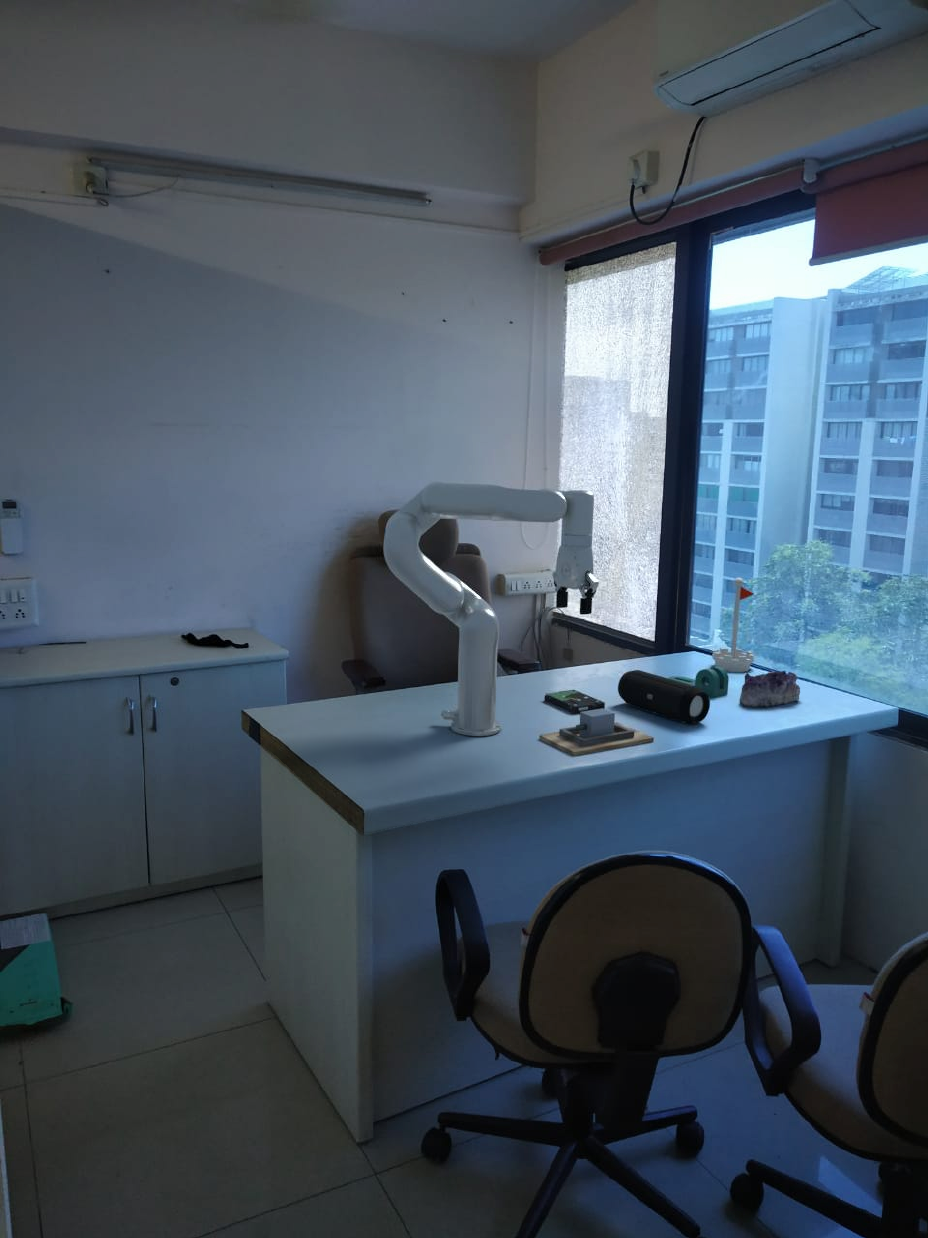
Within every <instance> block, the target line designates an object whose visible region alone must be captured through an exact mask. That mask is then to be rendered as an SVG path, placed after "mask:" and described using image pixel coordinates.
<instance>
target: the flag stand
mask: <svg viewBox="0 0 928 1238" xmlns="http://www.w3.org/2000/svg"><path fill="white" fill-rule="evenodd" d="M733 584H734V585H735V596H734V605H733V606H734V609H733V619H732V620H733V623H732V633H731V644H730V645H731V646H730V651H729V648H728V647H723V648H722V647H720V648H719V649H716V648H715V649H713V650H712V657H711V658H712V660H714V667H716V666H719V667H722V668H724V669H725V670H726V672H727V673H728V672H729V673H746V672H745V671H747V672H749V671H750V670H749V669H751V664H752V663H753V662H754V661H755V660H754V659H755V653H754V652H753V651H750V650H746V652H745V653H744V652H743V649H742V648H737V641H738V631H739V630H738V629H739V616H740V615H739V613H740V604H741V601H742V600H744V599H746V598H750V596H753V595H754V596H755V593H753V592H752V591H750V590H749V589H746V588H745V587H742V586H743V585H744V580H743V578H741V577H736V578H735V579H734V581H733ZM748 670H749V671H748Z"/></svg>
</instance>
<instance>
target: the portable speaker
mask: <svg viewBox="0 0 928 1238" xmlns="http://www.w3.org/2000/svg"><path fill="white" fill-rule="evenodd" d="M668 678H669V677H664V676H662V675H661V676H660V675H657V674H654V673H651V672H646V671H644V670H640V669H634V670H630V671H626V672H625V673H623V674H622V675H621V677H620V678H619V680H618V681H619V682H618V684H617V693H618V695H619V697H620V698H621V699H622V700H623V701H624V702H625V703H626V704H627V705H629V706H633V707H634V708H637V709H640V708H641V710H643V709H644V710H643V711H646V710H647V712H650V713H653V714H656V715H659V716H662V717H665V718H668V719H671V720H673V721H678V722H681V723H683V724H686V725H690V724H697V723H701V722H702V721H703V720H705V718H706V717H707V716H708V714H709V711H710V708H711V702H710V701H711V700H710V697H708V695H707V694H706V693H705V692H704V691H703V690H702V689H700V688H699V687H696V686H693V685H689V684H686V683H682V682H679V681H675V680H672V679H668Z"/></svg>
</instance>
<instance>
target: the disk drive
mask: <svg viewBox="0 0 928 1238" xmlns="http://www.w3.org/2000/svg"><path fill="white" fill-rule="evenodd" d="M543 701H544V702H546V703H548V704H550V705H553V706H555V707H557V708H559V709H561V710H564V711H565V712H568V713H570V714H572V715H580V712H583V711H590V710H596V709H602V708H603V709H606V707H605V706H606V703H605V702H604V701H602V700H601V699H597V698H595V697H592V696H590V695H589V694H585V693H583V692H580V691H577V690H576V689H568V690H561V691H558V692H557V691H556V692H550V693H548V692H547V693H545V694H544V700H543Z"/></svg>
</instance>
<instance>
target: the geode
mask: <svg viewBox="0 0 928 1238" xmlns="http://www.w3.org/2000/svg"><path fill="white" fill-rule="evenodd" d="M797 680H798V676H797V674H795V673H793V672H791V671H789V672H788V673H786V670H781V671H776V670H773V671H770V672H767V673H765V674H764V673H762V674H759V675H755V676H754V675H750V674H749V673H748V672H747V673H746V674H745V675H744V683H743V684H742V686H741V692H740V693H741V694H740V695H739V704H740V706H742V707H744V708H750V709H751V708H753V709H754V708H756V709H764V708H768V707H773V706H779V705H787V704H790V703H793V702H795V701H799V700H800V693H801V686H799V684H797Z"/></svg>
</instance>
